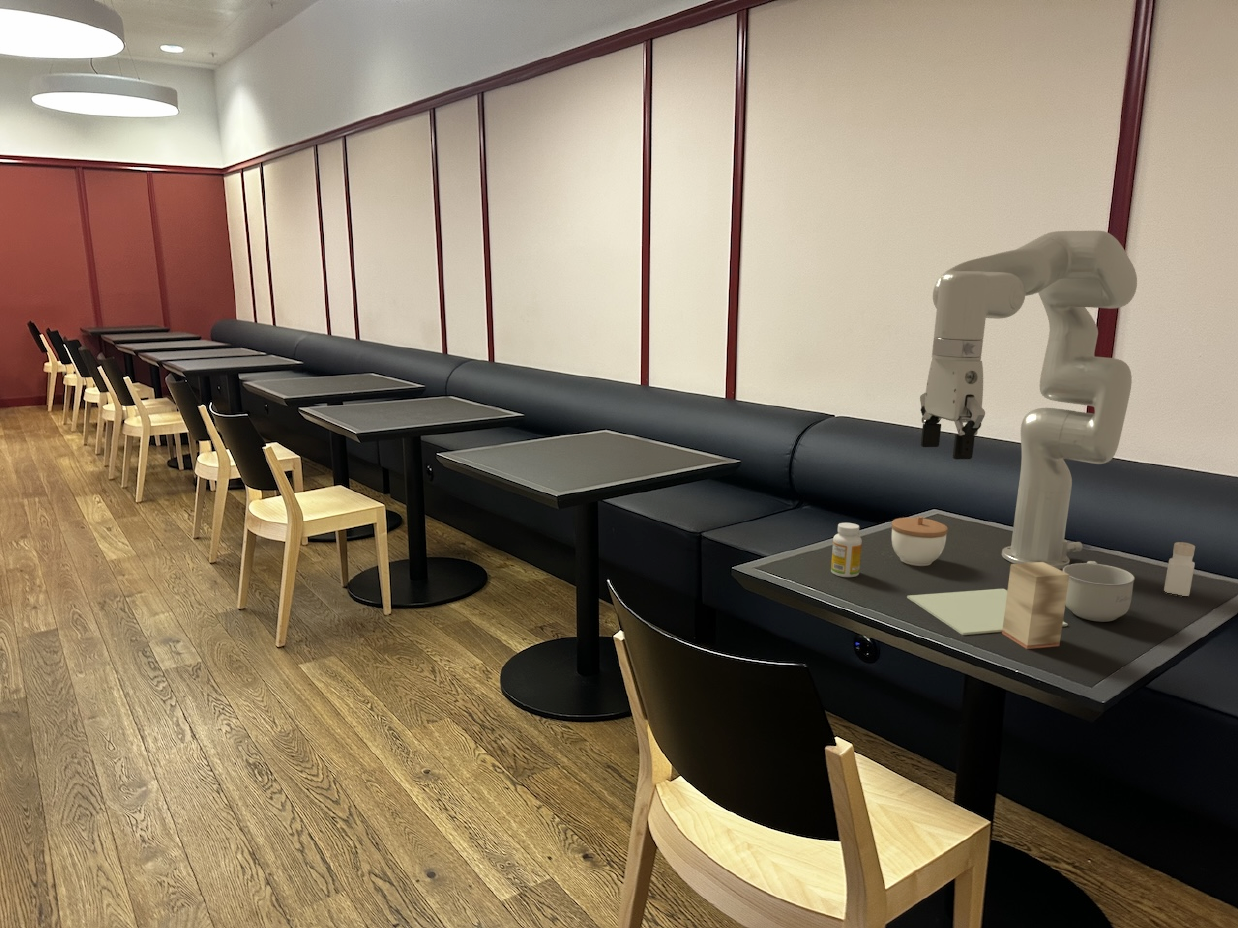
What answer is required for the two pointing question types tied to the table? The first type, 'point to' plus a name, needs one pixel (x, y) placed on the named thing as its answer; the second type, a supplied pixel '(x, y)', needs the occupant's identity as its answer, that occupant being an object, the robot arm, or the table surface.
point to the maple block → (1035, 604)
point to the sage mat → (967, 609)
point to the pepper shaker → (1180, 569)
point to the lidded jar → (918, 540)
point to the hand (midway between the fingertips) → (945, 452)
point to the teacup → (1098, 591)
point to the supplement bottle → (846, 551)
